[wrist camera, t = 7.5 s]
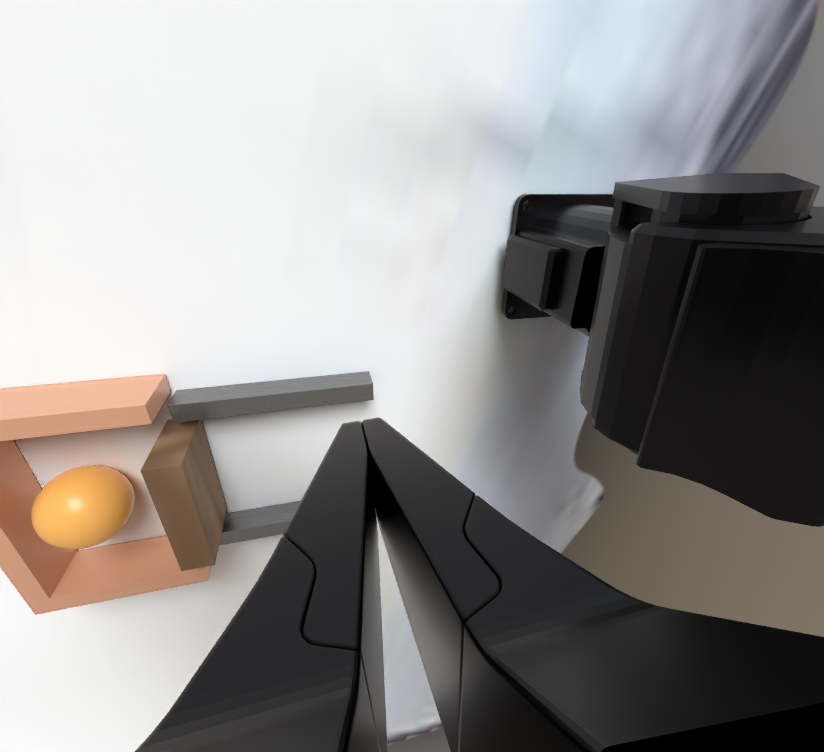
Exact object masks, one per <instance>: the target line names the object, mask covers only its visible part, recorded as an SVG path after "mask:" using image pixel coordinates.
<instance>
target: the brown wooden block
mask: <svg viewBox="0 0 824 752" xmlns="http://www.w3.org/2000/svg"><path fill="white" fill-rule="evenodd" d="M141 473H142V475H143V478H144V480H145V483H146V485H147V488H148V490H149V493H150V495H151V498H152V500H153V502H154V505H155V507H156V510H157V512H158V515H159V517H160V520H161V522H162V525H163V527H164V530H165V532H166V535H167V537H168V540H169V542H170V544H171V547H172V549H173V552H174V554H175V557H176V559H177V562H178V564H179V567H180V569H181V571H186V570H191V569H196V568H201V567H206V566H212V565H215V561H216V556H217V552H218V547H219V542H220V538H221V533H222V529H223V524H224V520H225V515H226V510H227V507H226V503H225V500H224V497H223V493H222V490H221V486H220V483H219V479H218V476H217V472H216V469H215V465H214V462H213V458H212V455H211V451H210V448H209V444H208V441H207V437H206V434H205V430H204V427H203V423H202V420H194V421H185V422H177V423H173V420H167V422H166V424H165V426H164V428H163V430H162V432H161V433H160V435H159V437H158V439H157V441H156V443H155V445H154V447H153V449H152V450H151V452H150V454H149V456H148V458H147V460H146V462H145V464H144V466H143V467H142V469H141Z"/></svg>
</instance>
